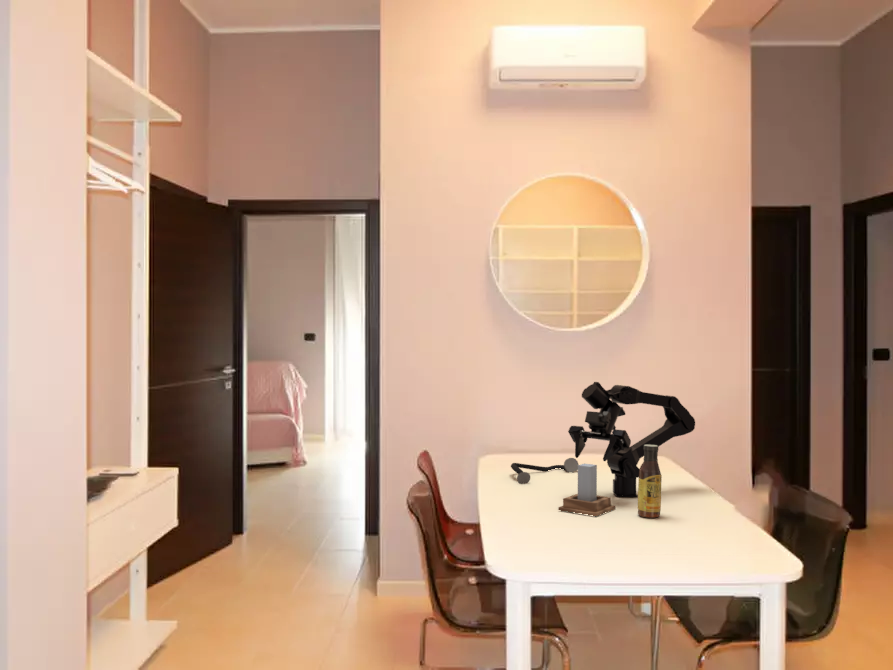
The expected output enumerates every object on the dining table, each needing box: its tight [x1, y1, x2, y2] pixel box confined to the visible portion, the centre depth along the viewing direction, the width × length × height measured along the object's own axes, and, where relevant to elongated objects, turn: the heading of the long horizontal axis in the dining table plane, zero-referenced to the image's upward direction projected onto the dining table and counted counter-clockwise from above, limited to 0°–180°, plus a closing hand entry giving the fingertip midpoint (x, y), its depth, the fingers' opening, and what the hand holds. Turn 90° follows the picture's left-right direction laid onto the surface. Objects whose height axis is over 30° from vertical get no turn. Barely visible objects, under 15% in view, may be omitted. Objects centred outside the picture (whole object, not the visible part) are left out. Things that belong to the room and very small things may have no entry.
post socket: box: [557, 493, 616, 517], centre depth 225 cm, size 12×12×4 cm
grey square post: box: [577, 463, 598, 502], centre depth 225 cm, size 4×4×12 cm
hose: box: [510, 457, 580, 484], centre depth 278 cm, size 34×14×6 cm, turn 137°
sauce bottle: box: [637, 445, 663, 519], centre depth 218 cm, size 6×6×20 cm
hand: (589, 458), depth 232 cm, fingers open, 9 cm apart
